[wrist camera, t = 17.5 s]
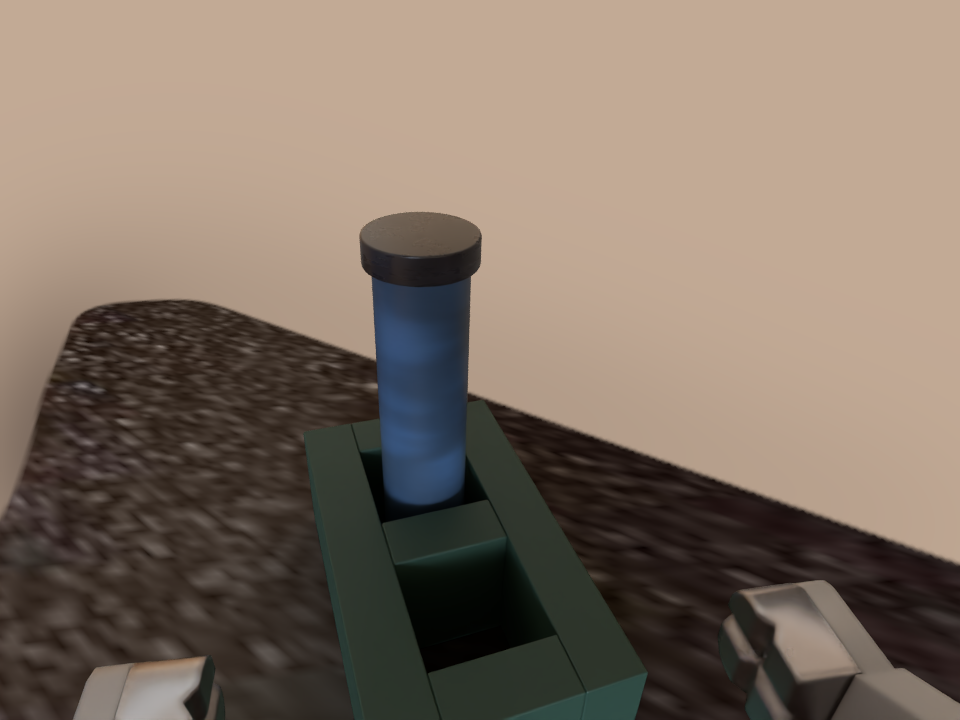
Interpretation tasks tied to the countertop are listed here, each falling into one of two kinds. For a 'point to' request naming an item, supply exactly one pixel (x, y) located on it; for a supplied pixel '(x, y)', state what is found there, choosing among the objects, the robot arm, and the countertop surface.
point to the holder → (463, 591)
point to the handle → (421, 354)
